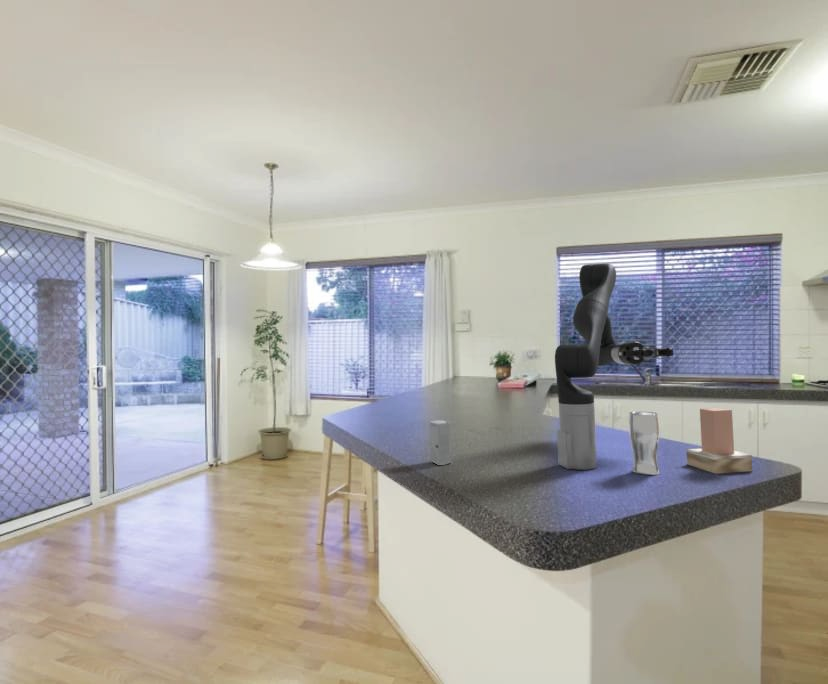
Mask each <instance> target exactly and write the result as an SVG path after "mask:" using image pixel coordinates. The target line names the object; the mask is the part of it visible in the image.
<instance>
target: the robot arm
mask: <svg viewBox="0 0 828 684" xmlns="http://www.w3.org/2000/svg"><path fill="white" fill-rule="evenodd" d="M616 280H617V270H616V267H615V266H614V265H613V264H612V263H605V262H604V263H594V264H593V263H590V264H584V265H582V266H581V268H580V270H579V280H578V281H579V287H580V291H581V294H582V298H581V299H580V300H579V301H578V303H577V304H576V306H575V310H574V313H573V316H572V323H573V326H574V328H575V330H576V331H577V333H578V334H579V335H580V337H582V338H583V339H584V341H585V343H574V344H571V343H570V344H560V345H558V346H557V347H556V349H555V351H554V352H555V353H554V365H555V366H554V368H555V375H556V389H557V397H558V398H557V399H558V400H557V401H558V420H559V423H558V424H559V429H557V430H556V441H557V463H558V465H559V466H561V467H563V468H564V469H567V470H594V469H597V467H598V461H597V460H598V458H597V457H598V456H597V437H596V435H597V434H596V420H595V419H596V418H595V416H596V415H595V414H596V413H595V412H596V411H595V397H594V396H595V395H594V393H593V392H592V391H590V390H587V389H584V388H582V387H579V386H578V385H576V384H575V383H574V382H573V381H572V379H579V378H580V379H585V378H587V379H588V378H592V377H594V376H595V375H596V373H597V371H598V367H604V366H608V365H609V366H610V365H612V364H618V365H620V364H621V365H624V366H625V365H629V366H632V365H634V366H637V365H639V364H640V365H641V364H643V362H644V361H645V360H650V359H659V357H662V358H665V357H667V358H668V357H672V356H674V350H673V348H671V347H670V348H669V347H663V348H659V347H658V346H653V347H652V346H651V347H650V346H644V344H643V343H641V342H639V341H624V342H619V343H618V342H616V341H615V339H614V337H613V331H612V330H613V329H612V321H611V318H610V316H609V313H608V310H609V304H610V300H611V297H612V294H613V292H614V288H615V285H616ZM653 350H654V351H653Z"/></svg>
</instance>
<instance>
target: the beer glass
mask: <svg viewBox="0 0 828 684" xmlns="http://www.w3.org/2000/svg"><path fill="white" fill-rule="evenodd" d="M659 424H660V423H659V418H658V413H657V412H653V411H630V412H628V435H629V441H630V446H631V450H632V456H633V465H632V472H633V473H634V474H635V475H636V474H638V475H641V476H656V475H659V474H660V471H659V466H658V460H657V459H658V458H657V455H658V449H659V448H658V446H659V441H660V425H659Z"/></svg>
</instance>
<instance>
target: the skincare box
mask: <svg viewBox="0 0 828 684" xmlns="http://www.w3.org/2000/svg"><path fill="white" fill-rule="evenodd" d="M451 424H452V423H451V422H449V421H446V420H442V419H440V420H432V421H429V461H430V460H432V461H434V462H435V463H438V464H440V463H450V462H452V458H451V457H452V454H451V453H452V451H451V449H452V448H451V444H452V443H451V442H452V441H451V439H452V437H451V434H452V432H451V431H452V430H451V428H452V427H451Z"/></svg>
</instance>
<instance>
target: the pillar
mask: <svg viewBox="0 0 828 684" xmlns="http://www.w3.org/2000/svg"><path fill="white" fill-rule="evenodd" d="M699 417H700V418H699V421H700V439H701V440H700V441H701V448H702V451H705V452H709V453H712V454H716V455H717V454H734V451H735V442H734V425H733V424H734V423H733V410H732V409H727V408H720V407H710V408H699Z"/></svg>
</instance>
